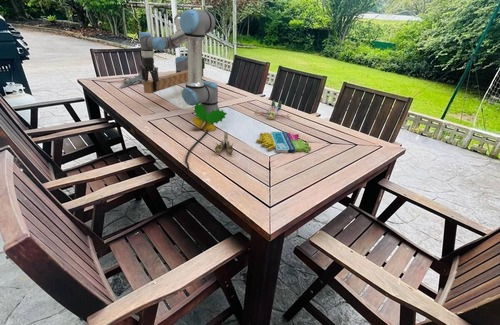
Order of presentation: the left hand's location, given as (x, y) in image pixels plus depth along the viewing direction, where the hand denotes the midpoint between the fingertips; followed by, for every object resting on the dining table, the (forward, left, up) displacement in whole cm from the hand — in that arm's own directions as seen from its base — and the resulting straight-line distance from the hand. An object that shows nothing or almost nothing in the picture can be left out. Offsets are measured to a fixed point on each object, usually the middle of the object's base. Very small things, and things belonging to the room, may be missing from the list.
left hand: (198, 75), depth 248 cm
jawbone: (+126, -57, -11) cm, 138 cm away
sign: (+135, -22, -11) cm, 137 cm away
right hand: (+34, -58, 0) cm, 67 cm away
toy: (+94, +10, -11) cm, 95 cm away
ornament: (+95, -47, -11) cm, 106 cm away
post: (+17, -29, -1) cm, 34 cm away
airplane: (-38, -48, -11) cm, 62 cm away
